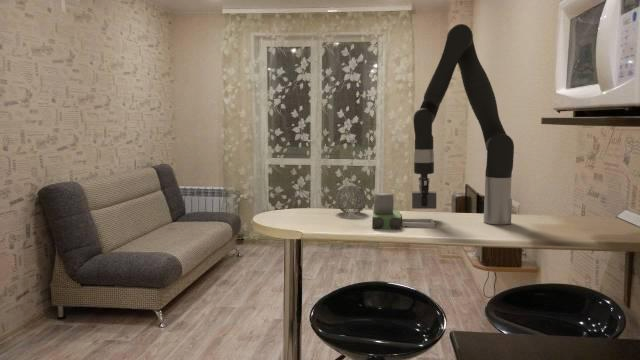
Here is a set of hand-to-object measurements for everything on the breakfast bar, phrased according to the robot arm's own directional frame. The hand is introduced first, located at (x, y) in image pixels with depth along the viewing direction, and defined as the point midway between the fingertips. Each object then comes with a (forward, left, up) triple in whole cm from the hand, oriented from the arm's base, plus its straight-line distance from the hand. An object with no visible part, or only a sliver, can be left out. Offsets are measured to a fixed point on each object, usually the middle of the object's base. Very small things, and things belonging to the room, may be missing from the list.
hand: (423, 204), depth 205 cm
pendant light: (+28, -10, -6) cm, 31 cm away
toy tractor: (+9, +12, -5) cm, 16 cm away
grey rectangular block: (0, 0, -1) cm, 1 cm away
